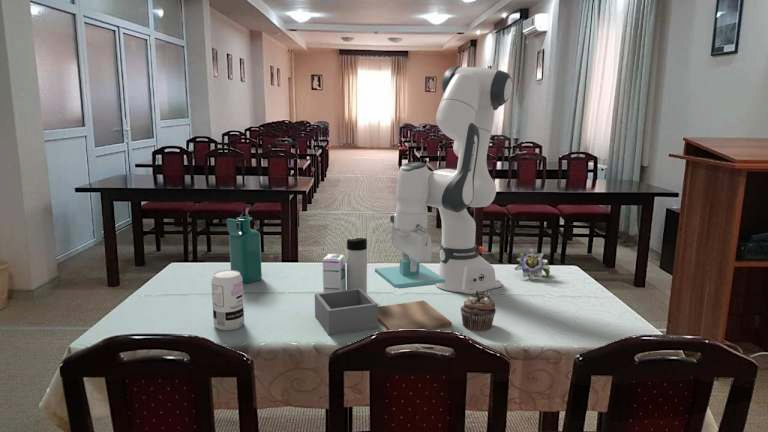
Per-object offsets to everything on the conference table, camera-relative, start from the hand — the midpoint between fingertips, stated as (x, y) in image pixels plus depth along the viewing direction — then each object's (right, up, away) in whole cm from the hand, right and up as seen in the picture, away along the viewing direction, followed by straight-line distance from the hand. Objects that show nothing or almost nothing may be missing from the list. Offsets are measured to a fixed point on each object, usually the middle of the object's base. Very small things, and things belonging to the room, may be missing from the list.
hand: (409, 269), depth 163 cm
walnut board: (0, -15, +4) cm, 15 cm away
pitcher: (-55, -7, +36) cm, 66 cm away
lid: (0, -3, +1) cm, 3 cm away
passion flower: (+45, -7, +43) cm, 63 cm away
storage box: (-18, -15, +1) cm, 24 cm away
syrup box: (-23, -12, +17) cm, 30 cm away
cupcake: (+19, -16, -1) cm, 25 cm away
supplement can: (-50, -16, -2) cm, 53 cm away
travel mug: (-16, -11, +18) cm, 27 cm away
